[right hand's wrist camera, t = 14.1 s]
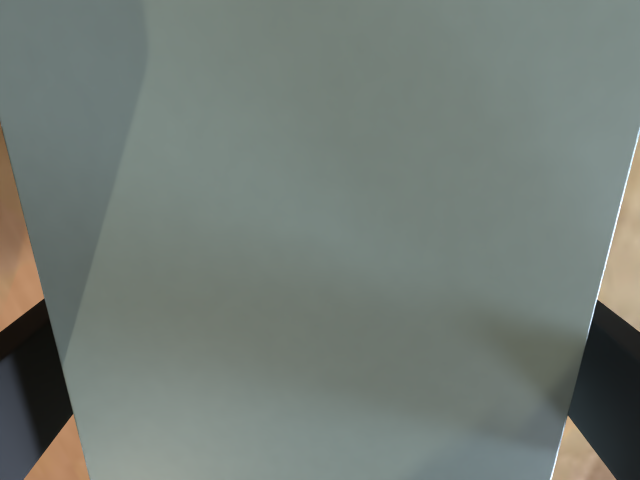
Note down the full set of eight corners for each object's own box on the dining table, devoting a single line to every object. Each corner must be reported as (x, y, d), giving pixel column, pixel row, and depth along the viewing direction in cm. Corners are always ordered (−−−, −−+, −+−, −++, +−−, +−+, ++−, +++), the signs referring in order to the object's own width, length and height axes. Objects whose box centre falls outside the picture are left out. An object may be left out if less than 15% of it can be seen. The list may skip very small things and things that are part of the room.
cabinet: (165, -214, 14) (-326, -1168, 3) (476, -214, 14) (973, -1167, 3) (214, 303, 20) (101, 532, 10) (425, 303, 20) (539, 532, 10)
